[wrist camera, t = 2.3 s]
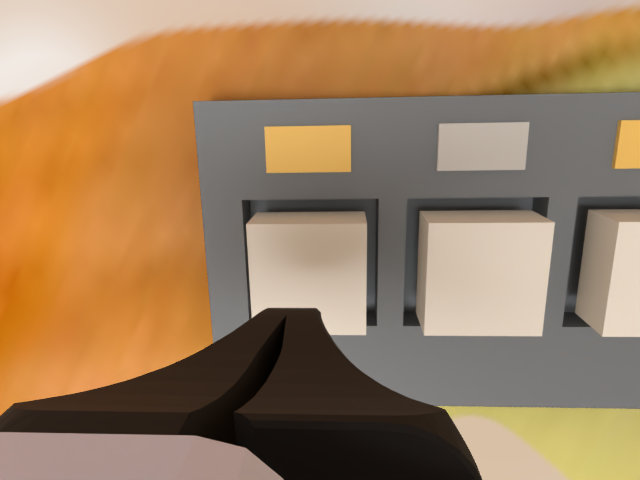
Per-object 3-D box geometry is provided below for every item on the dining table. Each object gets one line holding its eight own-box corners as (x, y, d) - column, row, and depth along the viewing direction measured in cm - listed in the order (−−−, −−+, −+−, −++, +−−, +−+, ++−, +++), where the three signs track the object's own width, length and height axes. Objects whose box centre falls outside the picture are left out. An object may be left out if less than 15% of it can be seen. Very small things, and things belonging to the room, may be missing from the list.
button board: (746, 91, 17) (802, 88, 15) (686, 381, 21) (726, 413, 18) (208, 102, 18) (190, 101, 16) (229, 376, 22) (217, 405, 19)
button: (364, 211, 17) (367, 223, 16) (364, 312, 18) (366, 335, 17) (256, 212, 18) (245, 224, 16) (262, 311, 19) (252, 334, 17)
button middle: (531, 210, 17) (554, 222, 15) (521, 312, 18) (542, 336, 16) (419, 210, 17) (428, 223, 15) (415, 312, 18) (424, 335, 16)
